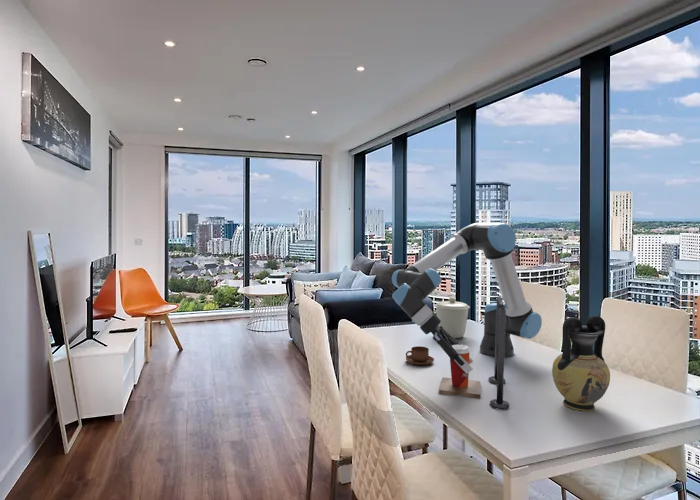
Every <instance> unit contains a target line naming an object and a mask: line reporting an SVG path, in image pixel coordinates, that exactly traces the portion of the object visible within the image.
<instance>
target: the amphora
mask: <svg viewBox="0 0 700 500" xmlns="http://www.w3.org/2000/svg"><path fill="white" fill-rule="evenodd" d="M605 333H606V322H605V320H604V319H603V318H602V317H601V316H598V315H591V316H589V317H588V318H587V320H586V325H583V323H582V321H581V320H580V319H579V318H577V317H574V316H573V317H572V316H570V317H567V318H566V319H564V321H563V323H562V353H561V354H559V355H557V356H556V358H555V359H554V360H553V363H552V368H551V374H552V378H553V382H554V384H555V388H556V390H557V391H558V392H559V394H560V395H562V397H563V398H564V400H563V399H562V400H563V401H562V404H563V405H564V406H565V407H568V408H570V409H573V410H575V411H580V410H581V411H582V412H590V411H593V410H594V409H595V403H596V402H598V401H599V400H600V399H602V397H603V396H604V395H605V393H607V390H608V388H609V385H610V384H611V383H610V382H611V370H610V368H609V366H608V364H607V363H606V361H605V358H604V357H603V346H604V338H605ZM593 345H594V347H593ZM593 348H594V349H593Z"/></svg>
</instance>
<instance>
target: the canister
mask: <svg viewBox="0 0 700 500" xmlns="http://www.w3.org/2000/svg"><path fill="white" fill-rule="evenodd" d="M456 300H457V299H456V297H454V296H450V297H449V298H448V300H444V301H438V302H437V303H436V304H434V307H435V310H436V313H435V314H436V316H437V317H438V318H439V319H440V320H441V322H440V324H439V325H438V326H439V327H440V326H442V327H443V328H444V329H445V331H447V332H448V333H449V334H450V335H451V336H452V337H453V338H454V339H461V338H463V337H464V336H465V334H466V329H467V323H468V317H469V316H468V314H469V310H470V308H471V306H470V305H468V304H467V303H465V302H461V301H456Z"/></svg>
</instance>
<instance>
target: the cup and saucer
mask: <svg viewBox="0 0 700 500" xmlns="http://www.w3.org/2000/svg"><path fill="white" fill-rule="evenodd" d="M429 352H430V349H429V348H428V347H426V346H417V345H415V346H413V347H411V350H408V351H406V352H405V360H406V361H407V363H410V364H413V365H418V366H425V365H426V366H427V365H430V364H432V363H433V362H434V361H435V358H434V357H432V356H429V355H430V353H429ZM409 353H411V354H409ZM408 354H409V355H408Z"/></svg>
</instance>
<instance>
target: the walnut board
mask: <svg viewBox="0 0 700 500" xmlns="http://www.w3.org/2000/svg"><path fill="white" fill-rule="evenodd" d="M438 394H441V395H442V394H443V395H449V396H458V397H459V396H460V397H468V398H477V399H481V381H480V380H473V379H468V386H467V387H465V388H457V387H454V386H453V385H452V377H444V376H442V377H441V380H440V386H439V389H438Z"/></svg>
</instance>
